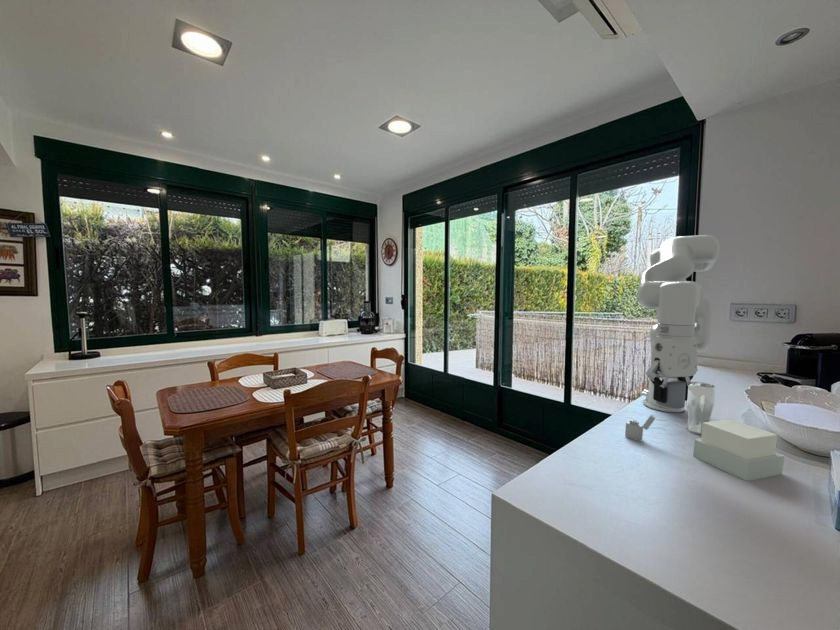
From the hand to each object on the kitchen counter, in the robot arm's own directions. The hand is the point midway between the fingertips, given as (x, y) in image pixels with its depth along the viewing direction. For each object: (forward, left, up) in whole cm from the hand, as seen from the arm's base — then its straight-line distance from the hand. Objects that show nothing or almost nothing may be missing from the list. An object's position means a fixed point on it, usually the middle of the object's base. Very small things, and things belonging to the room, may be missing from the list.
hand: (670, 399), depth 87 cm
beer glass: (-12, +27, -16) cm, 33 cm away
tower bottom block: (+6, +15, -16) cm, 23 cm away
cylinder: (0, 0, -1) cm, 1 cm away
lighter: (-11, +3, -16) cm, 20 cm away
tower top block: (+6, +15, -11) cm, 20 cm away
